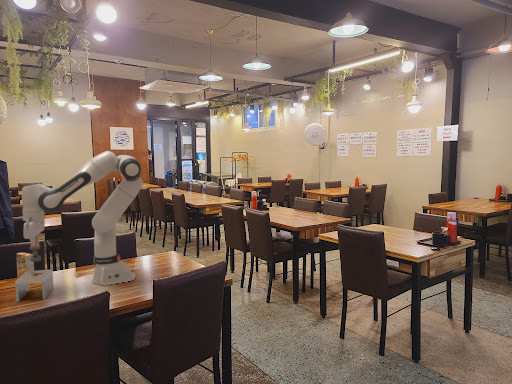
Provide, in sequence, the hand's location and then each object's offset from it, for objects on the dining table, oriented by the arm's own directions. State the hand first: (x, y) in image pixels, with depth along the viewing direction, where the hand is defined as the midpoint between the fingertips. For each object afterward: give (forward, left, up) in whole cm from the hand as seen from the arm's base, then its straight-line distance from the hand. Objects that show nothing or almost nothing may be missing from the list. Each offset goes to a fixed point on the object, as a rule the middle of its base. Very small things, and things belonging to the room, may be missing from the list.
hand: (35, 243), depth 175 cm
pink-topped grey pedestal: (0, 0, -9) cm, 9 cm away
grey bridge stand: (0, +3, -25) cm, 25 cm away
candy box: (+11, -20, -25) cm, 34 cm away
